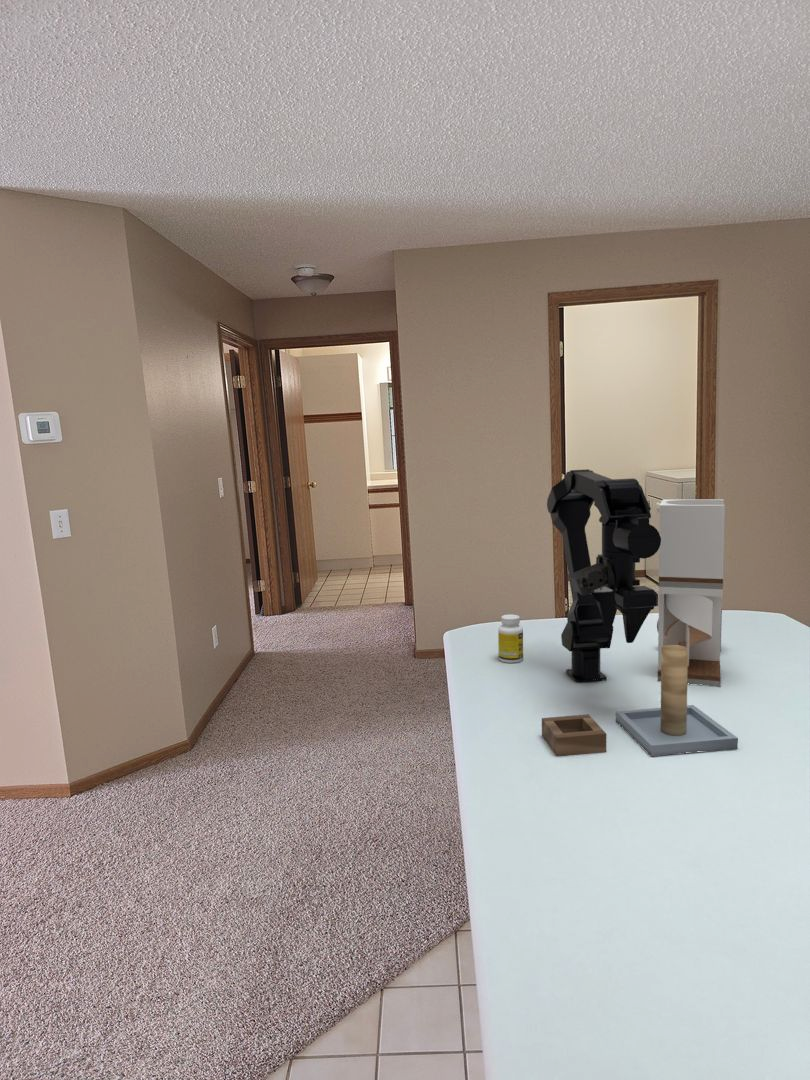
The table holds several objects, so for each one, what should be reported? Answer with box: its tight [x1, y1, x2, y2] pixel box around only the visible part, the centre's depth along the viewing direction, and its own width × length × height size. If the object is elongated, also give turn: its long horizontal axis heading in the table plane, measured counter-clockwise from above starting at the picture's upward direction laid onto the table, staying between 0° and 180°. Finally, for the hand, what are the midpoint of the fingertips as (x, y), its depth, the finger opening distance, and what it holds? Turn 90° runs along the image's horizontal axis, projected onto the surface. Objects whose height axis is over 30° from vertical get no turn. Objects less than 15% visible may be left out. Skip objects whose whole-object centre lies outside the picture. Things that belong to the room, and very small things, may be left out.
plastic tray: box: [615, 704, 739, 757], centre depth 121 cm, size 14×14×2 cm
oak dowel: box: [660, 645, 688, 736], centre depth 120 cm, size 4×4×14 cm
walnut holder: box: [541, 713, 607, 757], centre depth 119 cm, size 8×8×3 cm
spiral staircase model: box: [657, 498, 726, 688], centre depth 145 cm, size 11×11×35 cm
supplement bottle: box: [497, 614, 524, 664], centre depth 162 cm, size 5×5×10 cm
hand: (618, 636), depth 132 cm, fingers open, 9 cm apart
